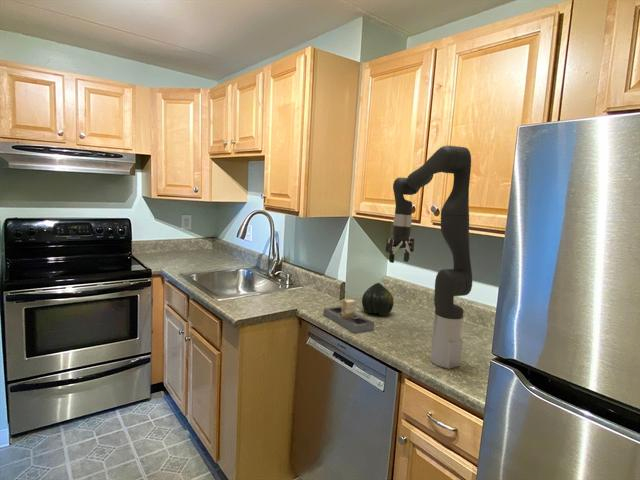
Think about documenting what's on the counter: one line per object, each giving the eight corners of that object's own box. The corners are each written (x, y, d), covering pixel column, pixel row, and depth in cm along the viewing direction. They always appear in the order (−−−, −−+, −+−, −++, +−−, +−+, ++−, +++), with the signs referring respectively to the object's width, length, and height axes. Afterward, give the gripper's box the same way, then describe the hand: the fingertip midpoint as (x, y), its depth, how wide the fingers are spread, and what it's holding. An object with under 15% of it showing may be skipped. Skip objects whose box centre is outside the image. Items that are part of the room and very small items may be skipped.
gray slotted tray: (373, 329, 158) (374, 323, 158) (354, 333, 153) (355, 326, 152) (340, 312, 178) (341, 306, 178) (323, 314, 173) (323, 308, 172)
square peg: (353, 323, 165) (355, 301, 163) (346, 324, 163) (347, 302, 161) (348, 320, 168) (349, 298, 167) (340, 321, 166) (342, 299, 165)
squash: (378, 309, 168) (391, 282, 174) (352, 302, 178) (365, 276, 184) (390, 325, 176) (402, 298, 182) (364, 317, 187) (377, 292, 193)
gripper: (396, 225, 154) (392, 264, 156) (420, 225, 161) (416, 262, 164) (383, 223, 160) (380, 261, 162) (407, 223, 168) (404, 259, 170)
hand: (398, 261), depth 163 cm, fingers open, 8 cm apart
